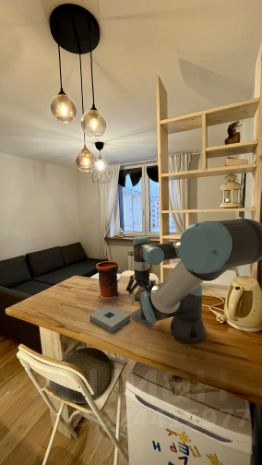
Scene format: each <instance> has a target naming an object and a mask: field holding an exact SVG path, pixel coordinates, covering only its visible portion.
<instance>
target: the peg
mask: <svg viewBox="0 0 262 465" xmlns="http://www.w3.org/2000/svg"><path fill="white" fill-rule="evenodd" d="M141 294H142V293H141ZM141 294H140V300H139V306H140V307H139V309H140V314H141V318H142V319H145V318H146V317H145V315H144V312H143V309H142V305H141Z"/></svg>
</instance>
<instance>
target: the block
mask: <svg viewBox="0 0 262 465" xmlns="http://www.w3.org/2000/svg"><path fill="white" fill-rule="evenodd" d="M89 321H91V322H93V323H94V324H96V325H98V326H100V327H102V328H103V329H105V330H107V331H109V332H110V333H114V332H115V331H117V330H118V329H119V328H122V326H124V325H125V324H126V323H128V322H129V321H131V319H130V314H128V313H126V312H123V311H122V310H120V309H117V308H115V307H113V306H110V305H108V304H106V305H104V306H103V307H102V308H100V309H99V308H98V310H96V311H95V312H93V313H91V314H89Z"/></svg>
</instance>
